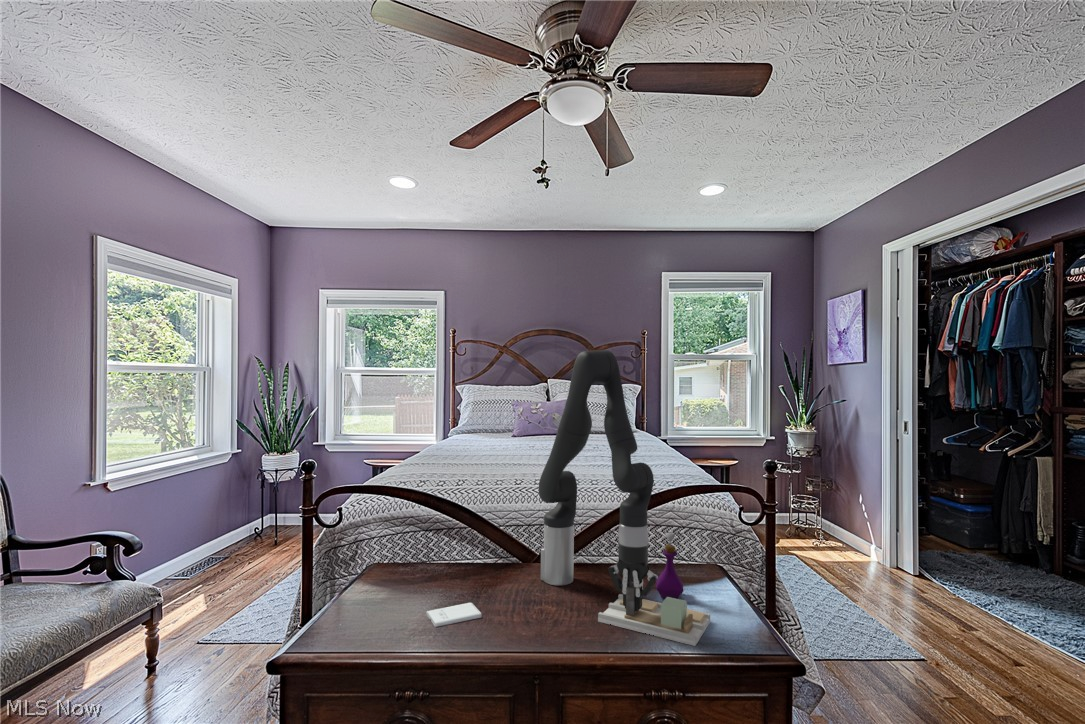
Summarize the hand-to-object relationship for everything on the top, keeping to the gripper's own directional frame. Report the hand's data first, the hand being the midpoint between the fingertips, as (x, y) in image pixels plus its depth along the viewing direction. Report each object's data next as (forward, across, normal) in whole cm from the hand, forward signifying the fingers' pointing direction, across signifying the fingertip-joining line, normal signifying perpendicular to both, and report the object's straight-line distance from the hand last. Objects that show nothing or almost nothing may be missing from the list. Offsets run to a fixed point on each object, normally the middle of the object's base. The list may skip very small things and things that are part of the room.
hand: (632, 608), depth 146 cm
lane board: (+4, +5, +4) cm, 7 cm away
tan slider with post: (+2, +7, 0) cm, 7 cm away
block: (+1, +11, 0) cm, 11 cm away
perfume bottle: (+4, +3, +22) cm, 22 cm away
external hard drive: (+4, -42, -20) cm, 47 cm away
